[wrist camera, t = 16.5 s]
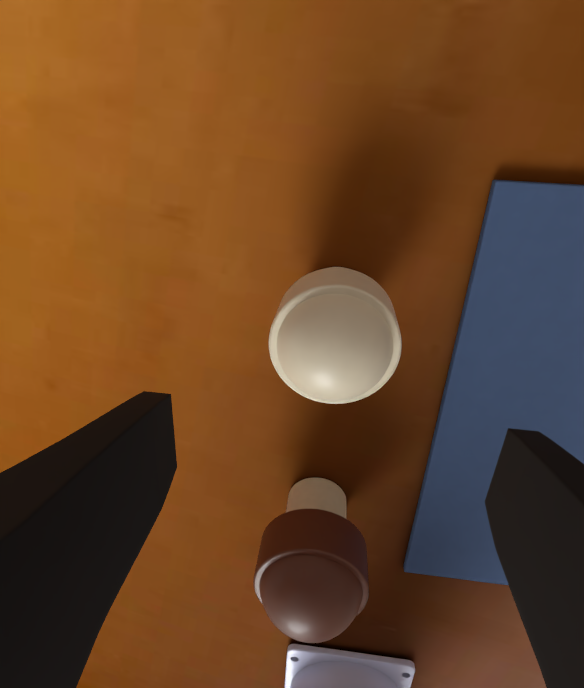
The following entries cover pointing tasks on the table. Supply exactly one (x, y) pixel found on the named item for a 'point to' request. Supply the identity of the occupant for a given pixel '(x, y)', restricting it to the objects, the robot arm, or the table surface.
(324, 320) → the cream mushroom
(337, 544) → the brown mushroom
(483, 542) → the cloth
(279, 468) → the table surface
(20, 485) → the robot arm
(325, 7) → the table surface
